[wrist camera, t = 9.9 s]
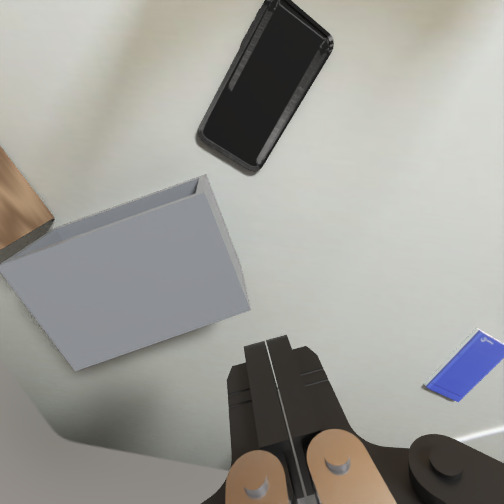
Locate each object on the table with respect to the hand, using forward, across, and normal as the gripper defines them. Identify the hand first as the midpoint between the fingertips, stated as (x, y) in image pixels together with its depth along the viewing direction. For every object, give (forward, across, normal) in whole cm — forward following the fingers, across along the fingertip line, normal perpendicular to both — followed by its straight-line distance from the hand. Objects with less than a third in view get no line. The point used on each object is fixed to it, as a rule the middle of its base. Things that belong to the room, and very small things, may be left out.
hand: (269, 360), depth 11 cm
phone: (+28, -6, -10) cm, 30 cm away
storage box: (+27, +10, +4) cm, 29 cm away
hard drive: (+28, -30, +37) cm, 55 cm away
